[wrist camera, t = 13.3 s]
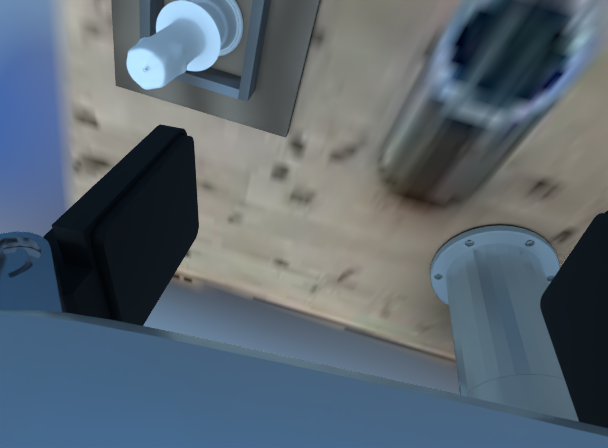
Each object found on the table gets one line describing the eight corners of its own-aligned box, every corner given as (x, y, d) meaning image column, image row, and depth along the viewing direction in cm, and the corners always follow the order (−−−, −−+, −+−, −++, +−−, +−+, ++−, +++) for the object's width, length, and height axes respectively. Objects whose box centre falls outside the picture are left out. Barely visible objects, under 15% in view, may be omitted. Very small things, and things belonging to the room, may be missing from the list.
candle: (216, -33, 31) (140, 2, 22) (256, 35, 33) (204, 94, 24) (164, 5, 33) (75, 52, 24) (205, 67, 36) (139, 130, 26)
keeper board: (337, -70, 29) (331, -65, 26) (287, 132, 39) (280, 150, 37) (112, -142, 29) (82, -145, 26) (121, 81, 39) (101, 96, 36)
